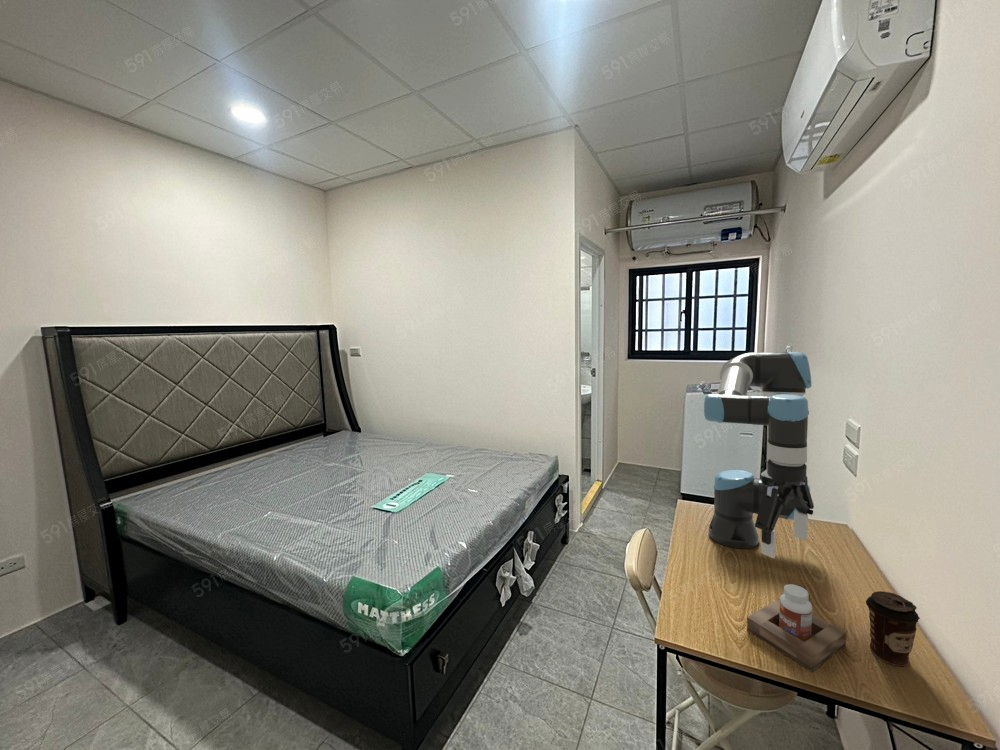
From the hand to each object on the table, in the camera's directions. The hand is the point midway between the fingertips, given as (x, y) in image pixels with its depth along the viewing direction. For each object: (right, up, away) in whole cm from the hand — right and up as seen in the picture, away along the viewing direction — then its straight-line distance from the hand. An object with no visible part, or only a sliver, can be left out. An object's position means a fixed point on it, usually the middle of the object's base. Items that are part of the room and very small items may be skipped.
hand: (784, 546), depth 98 cm
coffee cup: (+18, -21, -8) cm, 29 cm away
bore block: (+1, -21, -1) cm, 21 cm away
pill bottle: (+1, -20, -1) cm, 20 cm away
